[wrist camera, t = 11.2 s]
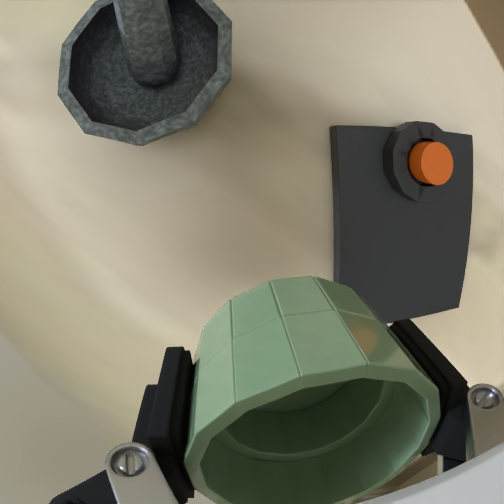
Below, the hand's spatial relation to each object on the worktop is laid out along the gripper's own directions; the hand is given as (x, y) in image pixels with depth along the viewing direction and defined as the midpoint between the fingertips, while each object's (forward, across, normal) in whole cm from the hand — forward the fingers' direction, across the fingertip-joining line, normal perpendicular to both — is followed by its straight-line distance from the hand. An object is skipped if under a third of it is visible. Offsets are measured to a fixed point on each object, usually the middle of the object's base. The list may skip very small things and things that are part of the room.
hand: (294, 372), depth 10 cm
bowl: (+1, 0, 0) cm, 1 cm away
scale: (+14, -12, -1) cm, 19 cm away
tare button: (+12, -12, -6) cm, 18 cm away
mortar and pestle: (+15, +6, -14) cm, 21 cm away
